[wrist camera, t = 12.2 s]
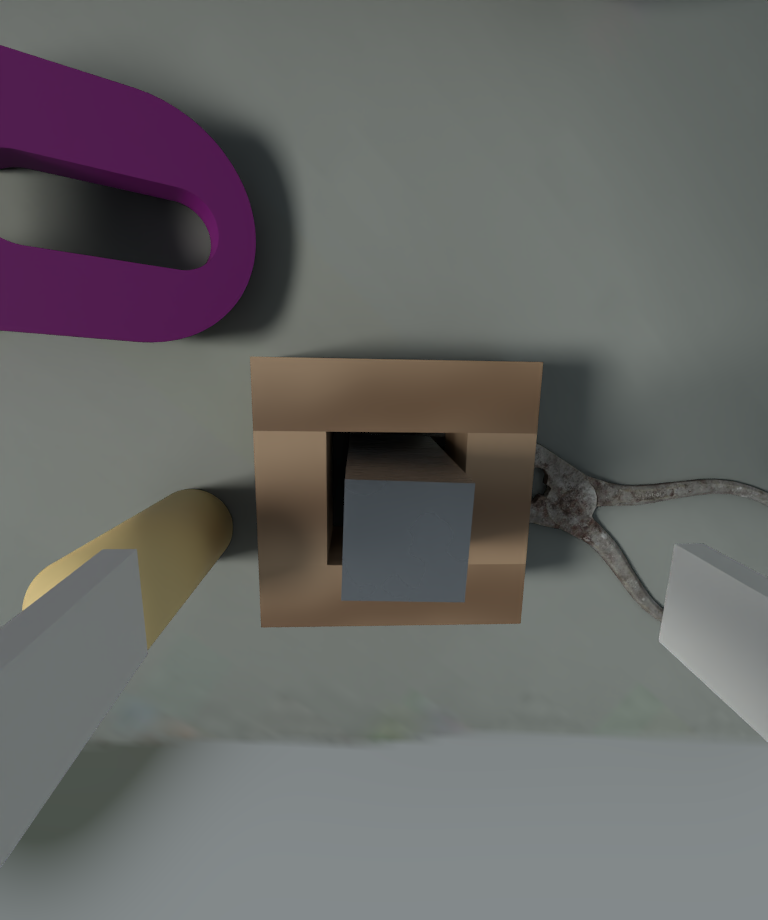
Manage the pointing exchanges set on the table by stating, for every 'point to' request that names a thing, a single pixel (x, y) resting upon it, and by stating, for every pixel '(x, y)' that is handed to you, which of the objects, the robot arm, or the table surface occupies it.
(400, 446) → the square peg
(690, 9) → the table surface
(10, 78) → the mounting bracket
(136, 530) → the round peg
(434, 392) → the socket block
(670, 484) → the pliers
